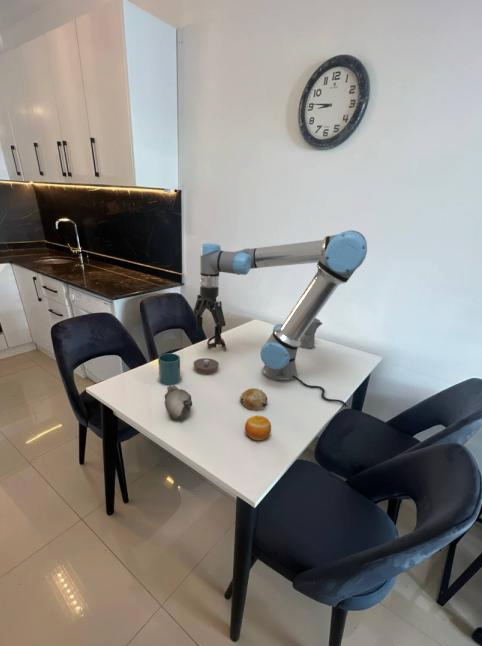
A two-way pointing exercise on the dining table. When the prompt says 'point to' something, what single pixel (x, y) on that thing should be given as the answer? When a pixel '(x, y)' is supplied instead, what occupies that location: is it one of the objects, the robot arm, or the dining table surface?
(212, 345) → the brown strappy sandal
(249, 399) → the brown oval lump
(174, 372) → the canister
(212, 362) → the lid
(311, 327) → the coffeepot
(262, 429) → the fruit
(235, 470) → the dining table surface
